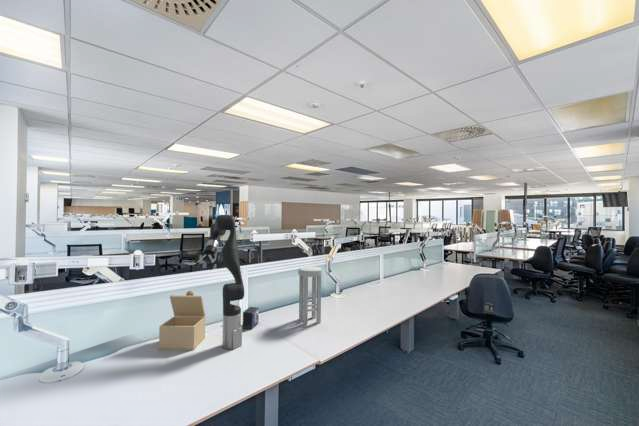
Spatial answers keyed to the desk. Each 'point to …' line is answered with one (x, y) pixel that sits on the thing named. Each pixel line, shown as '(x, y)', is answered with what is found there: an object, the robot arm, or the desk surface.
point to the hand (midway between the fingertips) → (203, 268)
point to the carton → (181, 333)
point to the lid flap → (187, 305)
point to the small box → (250, 318)
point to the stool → (303, 306)
